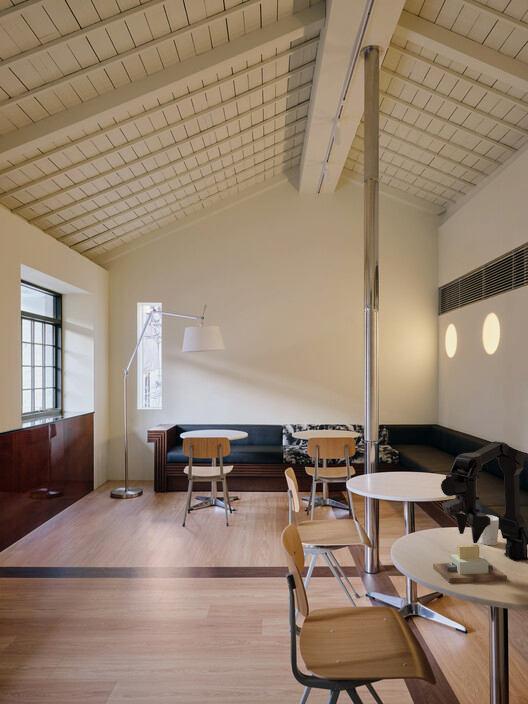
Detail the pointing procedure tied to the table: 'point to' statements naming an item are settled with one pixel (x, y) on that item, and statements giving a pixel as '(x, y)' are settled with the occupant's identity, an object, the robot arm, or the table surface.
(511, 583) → the table surface
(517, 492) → the robot arm
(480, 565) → the sage block
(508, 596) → the table surface
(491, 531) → the white cup
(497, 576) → the board
